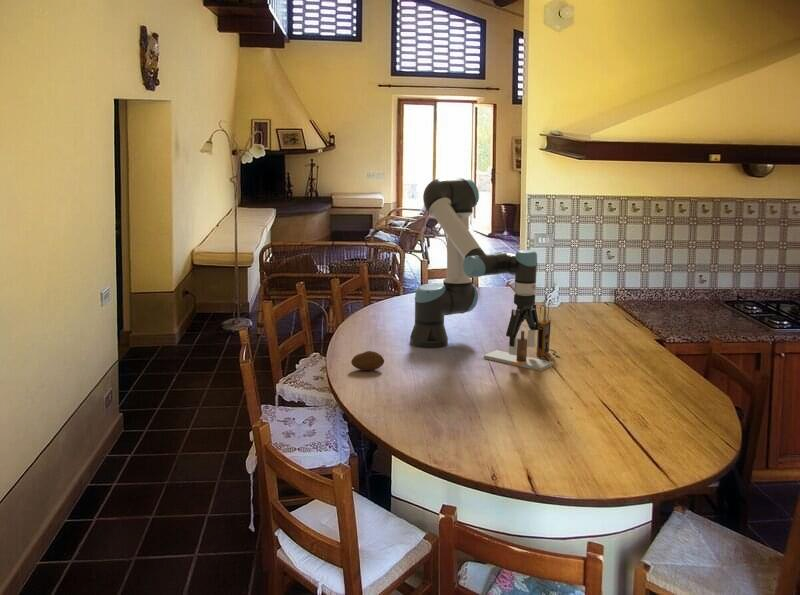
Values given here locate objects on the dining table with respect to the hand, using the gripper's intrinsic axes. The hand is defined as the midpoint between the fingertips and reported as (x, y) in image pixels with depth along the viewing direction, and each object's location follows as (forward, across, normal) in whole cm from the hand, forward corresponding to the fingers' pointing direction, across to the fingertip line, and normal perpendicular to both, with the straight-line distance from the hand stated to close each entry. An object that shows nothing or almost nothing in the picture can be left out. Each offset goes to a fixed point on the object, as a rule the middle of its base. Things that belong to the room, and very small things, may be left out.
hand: (521, 350), depth 282 cm
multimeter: (+5, +17, -4) cm, 18 cm away
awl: (+4, 0, 0) cm, 4 cm away
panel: (+5, +1, +2) cm, 5 cm away
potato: (+5, -43, +37) cm, 57 cm away
